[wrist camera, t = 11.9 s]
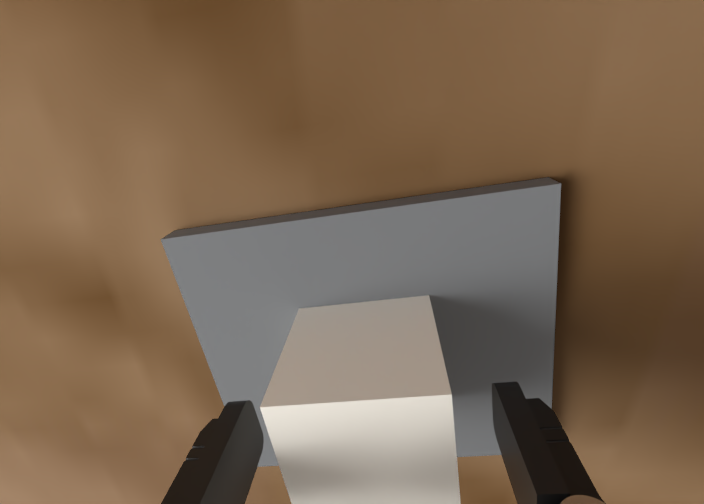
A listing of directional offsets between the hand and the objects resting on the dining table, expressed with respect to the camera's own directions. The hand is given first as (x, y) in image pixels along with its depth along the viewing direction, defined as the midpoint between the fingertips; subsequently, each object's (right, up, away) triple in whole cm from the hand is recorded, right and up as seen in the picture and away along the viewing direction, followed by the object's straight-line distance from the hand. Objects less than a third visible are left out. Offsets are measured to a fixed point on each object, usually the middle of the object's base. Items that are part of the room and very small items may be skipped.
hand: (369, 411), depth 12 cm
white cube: (0, +1, +3) cm, 3 cm away
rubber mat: (0, +1, +4) cm, 4 cm away
